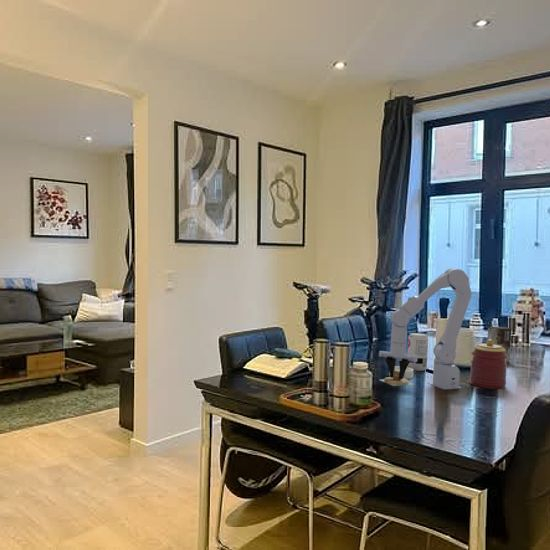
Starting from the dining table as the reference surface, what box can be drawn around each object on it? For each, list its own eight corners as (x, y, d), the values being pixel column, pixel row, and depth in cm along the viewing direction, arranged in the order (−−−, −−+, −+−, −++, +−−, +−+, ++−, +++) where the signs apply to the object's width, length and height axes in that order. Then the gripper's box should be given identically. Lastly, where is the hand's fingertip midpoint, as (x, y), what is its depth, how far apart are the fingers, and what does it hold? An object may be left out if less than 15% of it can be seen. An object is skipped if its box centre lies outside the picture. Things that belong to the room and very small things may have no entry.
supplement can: (404, 369, 224) (406, 334, 223) (409, 366, 231) (411, 332, 231) (424, 372, 220) (426, 336, 220) (428, 368, 227) (430, 334, 227)
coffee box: (505, 360, 255) (507, 326, 255) (509, 362, 249) (511, 328, 248) (485, 358, 256) (487, 325, 256) (489, 361, 250) (491, 327, 249)
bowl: (417, 379, 207) (418, 370, 207) (398, 380, 203) (399, 371, 203) (403, 374, 215) (404, 365, 215) (385, 375, 212) (385, 366, 212)
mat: (414, 385, 196) (414, 384, 196) (393, 386, 193) (393, 385, 193) (399, 379, 205) (399, 378, 205) (378, 380, 201) (378, 379, 201)
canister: (462, 383, 203) (465, 338, 202) (480, 379, 211) (482, 335, 210) (495, 391, 193) (498, 343, 192) (512, 386, 201) (515, 340, 200)
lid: (413, 384, 197) (414, 373, 196) (393, 385, 193) (394, 374, 193) (399, 378, 205) (399, 368, 205) (379, 379, 201) (380, 369, 201)
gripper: (421, 343, 197) (419, 379, 198) (384, 338, 206) (383, 373, 206) (414, 345, 192) (412, 382, 192) (377, 340, 200) (375, 376, 200)
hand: (396, 378), depth 199 cm, fingers closed on lid, 3 cm apart
